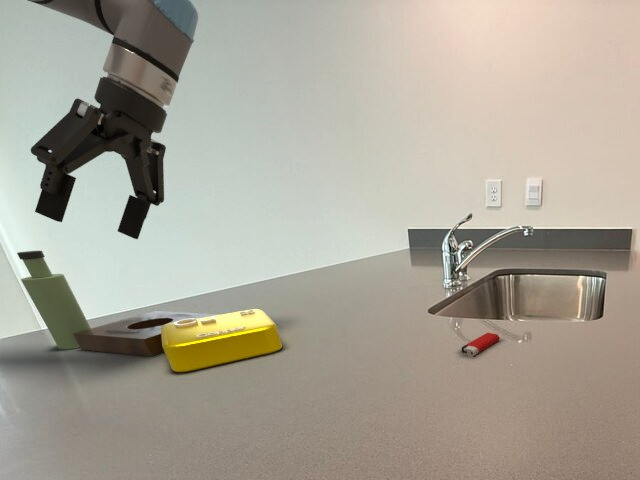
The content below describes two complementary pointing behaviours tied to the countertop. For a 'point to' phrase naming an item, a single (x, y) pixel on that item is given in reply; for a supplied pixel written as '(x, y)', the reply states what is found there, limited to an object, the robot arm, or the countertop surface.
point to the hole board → (132, 333)
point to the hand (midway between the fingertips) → (92, 227)
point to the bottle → (53, 300)
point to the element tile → (219, 339)
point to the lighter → (480, 344)
